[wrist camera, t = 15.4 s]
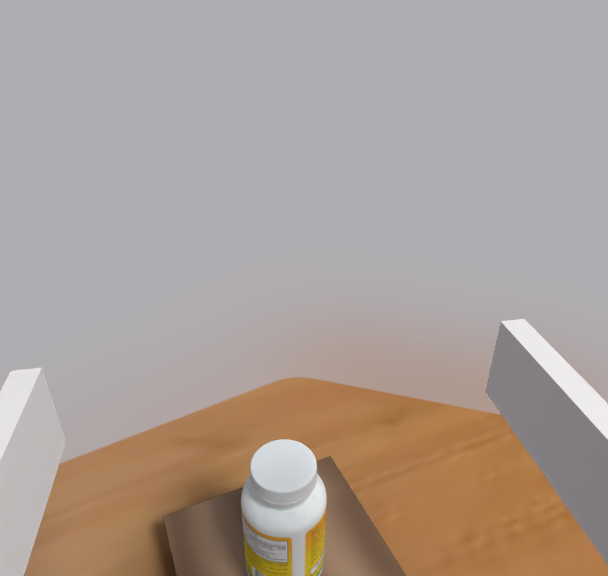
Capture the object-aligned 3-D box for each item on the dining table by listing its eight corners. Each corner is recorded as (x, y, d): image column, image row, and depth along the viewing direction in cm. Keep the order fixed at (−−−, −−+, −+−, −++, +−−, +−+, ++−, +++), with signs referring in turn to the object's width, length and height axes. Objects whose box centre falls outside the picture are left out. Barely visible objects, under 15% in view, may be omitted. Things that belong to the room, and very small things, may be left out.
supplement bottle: (258, 614, 32) (250, 515, 28) (237, 540, 37) (227, 443, 32) (337, 584, 34) (342, 486, 29) (308, 517, 38) (309, 422, 34)
